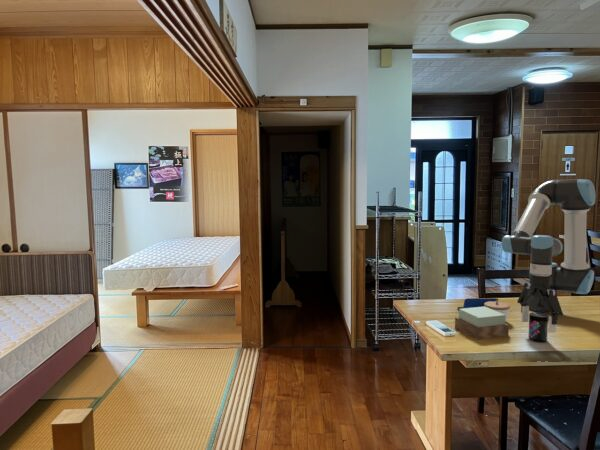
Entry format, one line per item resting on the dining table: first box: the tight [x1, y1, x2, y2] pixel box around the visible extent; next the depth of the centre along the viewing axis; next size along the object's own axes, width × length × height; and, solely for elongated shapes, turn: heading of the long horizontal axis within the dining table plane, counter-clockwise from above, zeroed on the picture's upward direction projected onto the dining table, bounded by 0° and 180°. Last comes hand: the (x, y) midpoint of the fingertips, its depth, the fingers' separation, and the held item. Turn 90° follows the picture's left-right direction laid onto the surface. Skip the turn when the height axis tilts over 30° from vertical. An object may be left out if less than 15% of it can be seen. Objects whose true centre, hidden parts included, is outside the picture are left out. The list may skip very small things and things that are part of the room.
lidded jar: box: [484, 300, 511, 320], centre depth 196 cm, size 11×11×9 cm
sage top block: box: [458, 306, 507, 327], centre depth 182 cm, size 13×13×4 cm
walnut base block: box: [454, 316, 510, 340], centre depth 183 cm, size 15×15×5 cm
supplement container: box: [527, 311, 549, 343], centre depth 172 cm, size 7×7×10 cm
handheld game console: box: [456, 297, 499, 311], centre depth 209 cm, size 16×13×9 cm
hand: (537, 326), depth 171 cm, fingers open, 13 cm apart
